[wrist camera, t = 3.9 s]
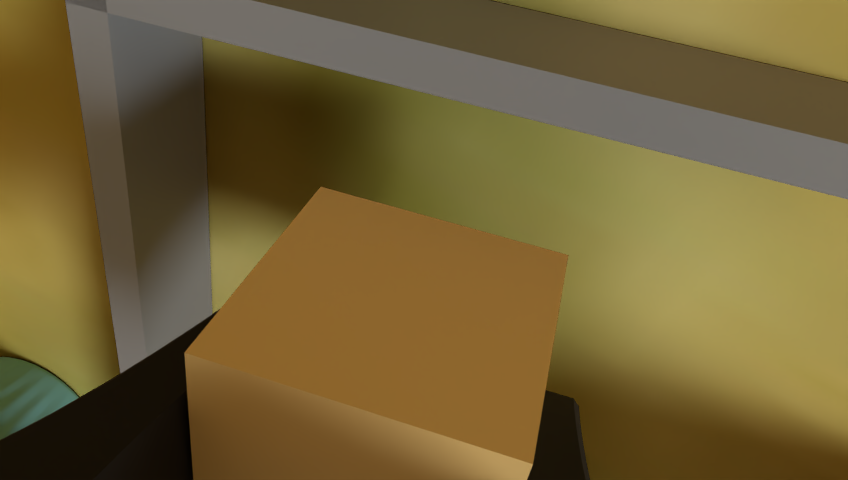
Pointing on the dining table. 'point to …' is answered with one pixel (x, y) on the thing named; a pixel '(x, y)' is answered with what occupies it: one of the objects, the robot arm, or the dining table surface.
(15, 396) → the cupcake
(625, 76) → the grey piece
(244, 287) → the brown cube
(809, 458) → the dining table surface
